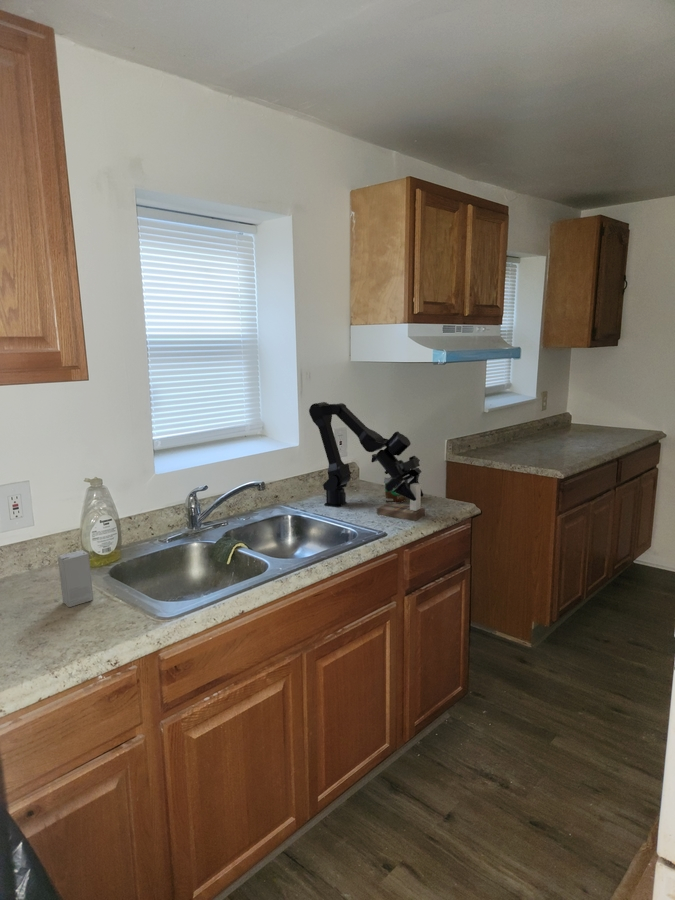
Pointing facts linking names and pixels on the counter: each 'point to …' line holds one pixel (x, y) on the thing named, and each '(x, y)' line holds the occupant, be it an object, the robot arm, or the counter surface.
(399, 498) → the food container
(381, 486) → the counter surface
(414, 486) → the fader
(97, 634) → the counter surface
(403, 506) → the console
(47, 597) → the counter surface
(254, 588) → the counter surface
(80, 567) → the skincare box
